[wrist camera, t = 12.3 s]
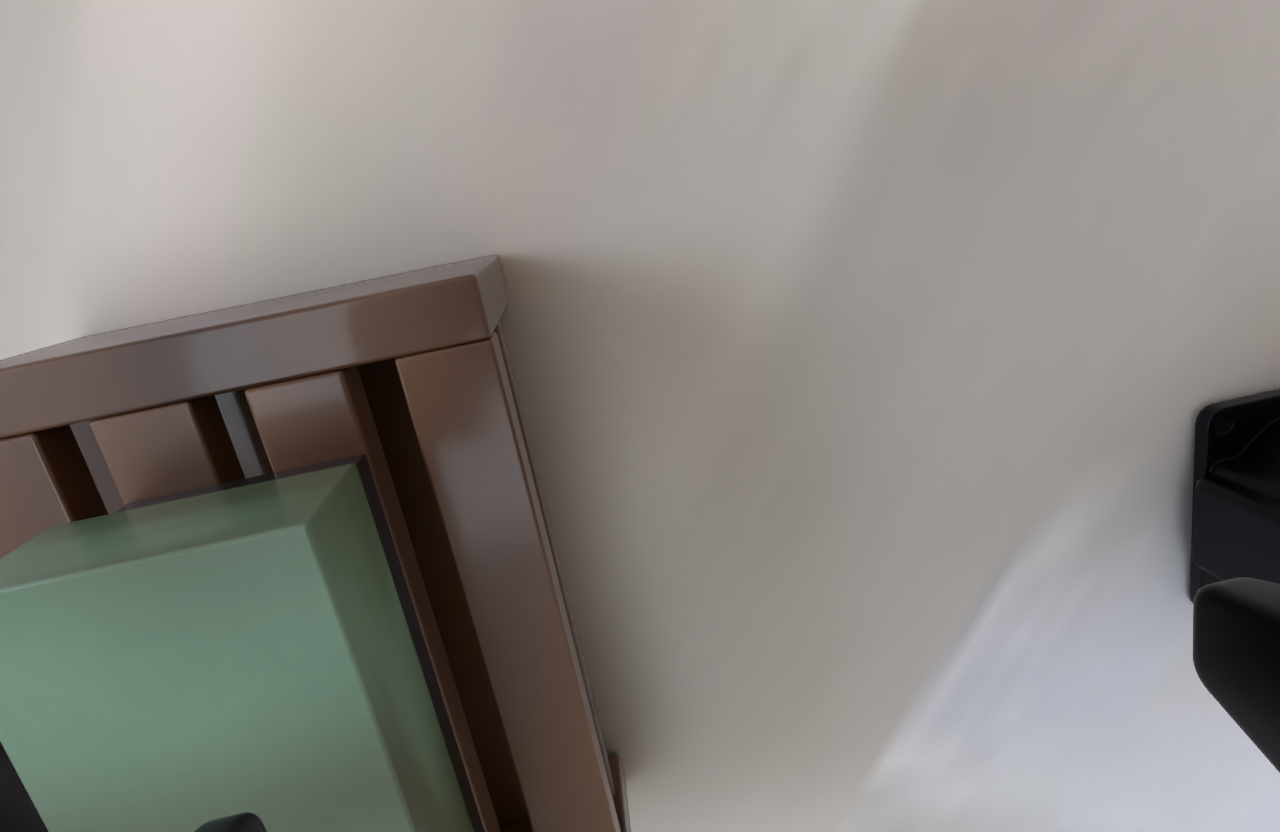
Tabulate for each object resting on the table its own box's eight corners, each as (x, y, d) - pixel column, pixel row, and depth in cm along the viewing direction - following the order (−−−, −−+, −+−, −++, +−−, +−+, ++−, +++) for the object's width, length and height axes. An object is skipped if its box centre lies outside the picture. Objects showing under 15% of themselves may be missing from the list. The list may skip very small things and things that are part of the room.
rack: (498, 253, 18) (475, 272, 13) (626, 783, 23) (642, 940, 18) (77, 337, 18) (-104, 389, 13) (296, 860, 22) (223, 1041, 17)
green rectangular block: (516, 885, 17) (503, 1084, 13) (296, 936, 17) (218, 1155, 13) (377, 434, 14) (306, 524, 10) (104, 490, 14) (-76, 605, 10)
